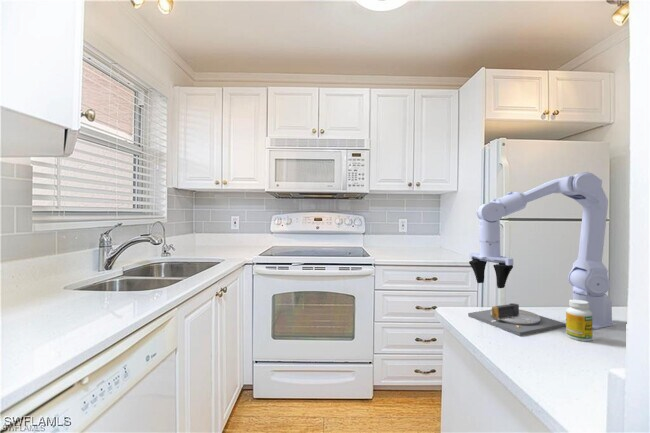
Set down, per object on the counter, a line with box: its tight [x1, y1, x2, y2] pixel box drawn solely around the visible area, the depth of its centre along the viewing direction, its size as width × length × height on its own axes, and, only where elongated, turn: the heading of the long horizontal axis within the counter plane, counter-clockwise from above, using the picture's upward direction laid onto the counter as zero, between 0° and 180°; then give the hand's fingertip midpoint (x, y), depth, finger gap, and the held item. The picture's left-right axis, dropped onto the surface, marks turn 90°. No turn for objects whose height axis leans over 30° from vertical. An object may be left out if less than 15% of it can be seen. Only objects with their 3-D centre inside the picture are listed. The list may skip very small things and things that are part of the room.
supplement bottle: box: [565, 298, 593, 342], centre depth 83 cm, size 5×5×10 cm
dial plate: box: [467, 308, 566, 337], centre depth 96 cm, size 18×18×1 cm
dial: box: [490, 303, 540, 325], centre depth 96 cm, size 14×13×4 cm
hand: (490, 285), depth 99 cm, fingers open, 7 cm apart
